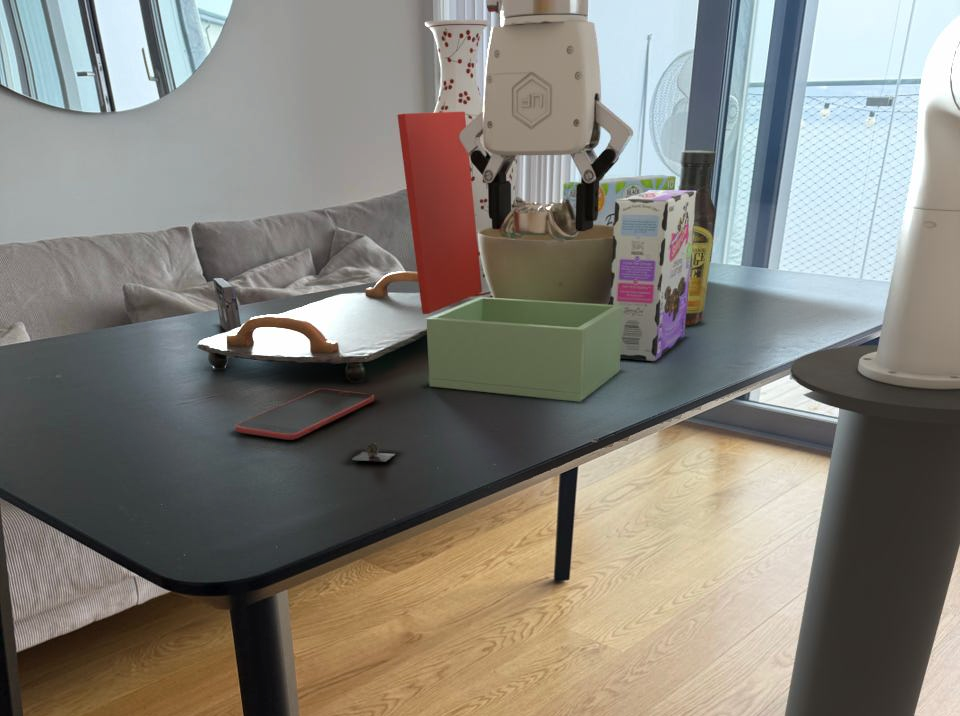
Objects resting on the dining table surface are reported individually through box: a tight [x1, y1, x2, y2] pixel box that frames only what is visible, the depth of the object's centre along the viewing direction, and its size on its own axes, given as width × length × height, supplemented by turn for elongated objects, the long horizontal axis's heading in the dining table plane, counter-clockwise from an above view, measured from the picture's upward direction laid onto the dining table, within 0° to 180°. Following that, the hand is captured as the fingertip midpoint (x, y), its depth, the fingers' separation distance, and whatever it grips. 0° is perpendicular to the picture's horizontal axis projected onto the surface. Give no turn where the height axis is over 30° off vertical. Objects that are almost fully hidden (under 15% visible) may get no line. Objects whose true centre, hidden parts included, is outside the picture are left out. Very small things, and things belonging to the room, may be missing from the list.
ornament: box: [499, 196, 579, 242], centre depth 86 cm, size 8×7×4 cm
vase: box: [424, 19, 518, 299], centre depth 131 cm, size 16×16×35 cm
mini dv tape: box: [212, 277, 242, 332], centre depth 120 cm, size 8×2×6 cm, turn 23°
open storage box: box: [426, 297, 623, 403], centre depth 94 cm, size 17×13×7 cm
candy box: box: [610, 189, 696, 362], centre depth 103 cm, size 14×6×16 cm, turn 155°
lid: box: [396, 112, 482, 314], centre depth 91 cm, size 17×13×1 cm
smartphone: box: [234, 388, 375, 441], centre depth 86 cm, size 7×1×14 cm
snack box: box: [562, 174, 677, 226], centre depth 144 cm, size 21×6×15 cm, turn 132°
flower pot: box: [478, 224, 614, 305], centre depth 111 cm, size 18×18×12 cm
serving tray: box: [196, 270, 473, 384], centre depth 110 cm, size 39×23×6 cm, turn 156°
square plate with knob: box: [351, 442, 396, 463], centre depth 75 cm, size 3×3×1 cm
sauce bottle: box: [677, 150, 717, 327], centre depth 114 cm, size 6×6×20 cm
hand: (542, 227), depth 87 cm, fingers closed on ornament, 8 cm apart
